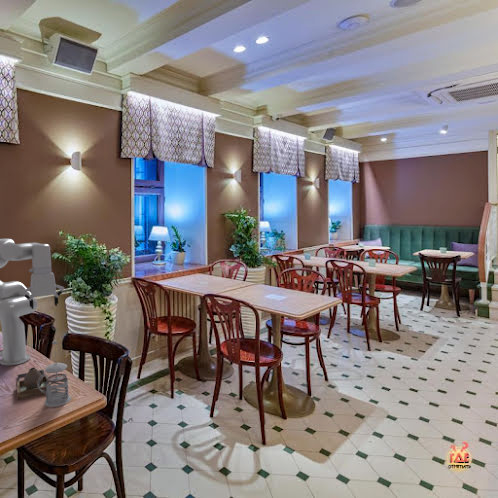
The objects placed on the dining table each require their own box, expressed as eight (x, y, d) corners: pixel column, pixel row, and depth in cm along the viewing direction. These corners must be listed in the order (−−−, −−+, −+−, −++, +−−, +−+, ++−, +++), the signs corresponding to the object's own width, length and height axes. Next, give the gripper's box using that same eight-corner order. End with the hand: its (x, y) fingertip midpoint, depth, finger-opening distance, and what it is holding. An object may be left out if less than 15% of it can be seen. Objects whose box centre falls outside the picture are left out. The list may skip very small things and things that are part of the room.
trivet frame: (17, 376, 171) (17, 374, 171) (43, 371, 176) (43, 369, 176) (17, 386, 162) (17, 384, 162) (45, 380, 167) (45, 378, 167)
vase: (34, 393, 155) (33, 373, 154) (20, 391, 156) (19, 371, 155) (46, 385, 162) (45, 366, 161) (32, 383, 163) (31, 364, 162)
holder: (17, 388, 161) (17, 381, 160) (48, 381, 167) (47, 375, 166) (17, 400, 151) (17, 393, 150) (50, 392, 157) (50, 385, 157)
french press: (74, 401, 150) (71, 341, 147) (42, 411, 143) (38, 348, 140) (67, 391, 158) (64, 334, 155) (36, 401, 150) (32, 341, 147)
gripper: (20, 273, 166) (23, 311, 168) (64, 270, 176) (65, 306, 178) (20, 271, 172) (22, 307, 174) (61, 267, 182) (63, 302, 184)
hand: (44, 306), depth 176 cm, fingers open, 9 cm apart
